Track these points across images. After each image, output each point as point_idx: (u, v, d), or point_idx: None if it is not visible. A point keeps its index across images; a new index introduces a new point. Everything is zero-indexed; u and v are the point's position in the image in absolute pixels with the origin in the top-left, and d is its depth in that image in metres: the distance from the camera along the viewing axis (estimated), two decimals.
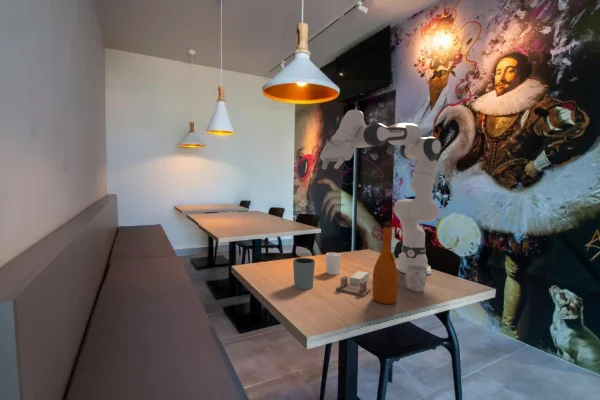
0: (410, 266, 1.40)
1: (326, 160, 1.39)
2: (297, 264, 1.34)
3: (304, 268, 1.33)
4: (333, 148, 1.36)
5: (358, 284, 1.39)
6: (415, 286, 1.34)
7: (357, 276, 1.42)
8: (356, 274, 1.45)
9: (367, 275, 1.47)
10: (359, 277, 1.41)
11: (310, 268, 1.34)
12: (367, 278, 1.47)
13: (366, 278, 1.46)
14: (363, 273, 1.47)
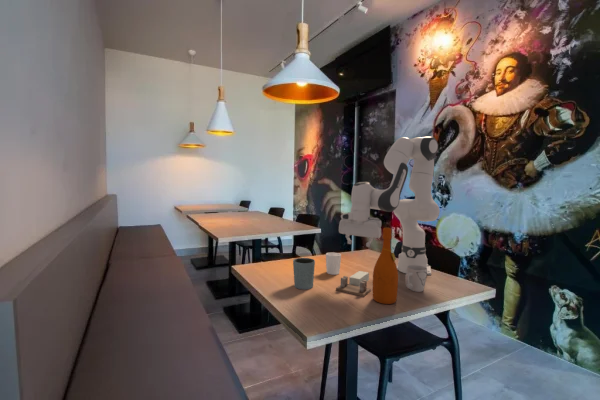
0: (410, 266, 1.40)
1: (348, 235, 1.46)
2: (297, 264, 1.34)
3: (304, 268, 1.33)
4: (354, 225, 1.42)
5: (358, 284, 1.39)
6: (415, 286, 1.34)
7: (357, 276, 1.42)
8: (356, 274, 1.45)
9: (367, 275, 1.47)
10: (359, 277, 1.41)
11: (310, 268, 1.34)
12: (367, 278, 1.47)
13: (366, 278, 1.46)
14: (363, 273, 1.47)
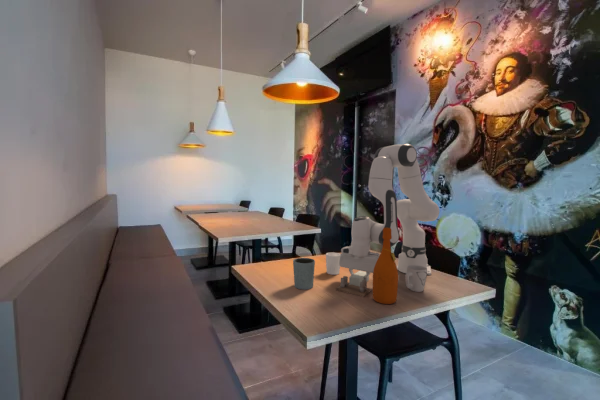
0: (410, 266, 1.40)
1: (352, 269, 1.46)
2: (297, 264, 1.34)
3: (304, 268, 1.33)
4: (355, 259, 1.44)
5: (358, 284, 1.39)
6: (415, 286, 1.34)
7: (357, 275, 1.42)
8: (356, 274, 1.45)
9: None
10: (359, 277, 1.41)
11: (310, 268, 1.34)
12: None
13: None
14: (363, 273, 1.47)
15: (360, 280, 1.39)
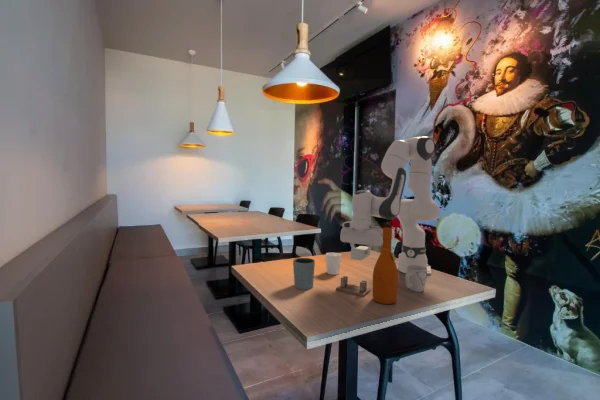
0: (410, 266, 1.40)
1: (353, 243, 1.45)
2: (297, 264, 1.34)
3: (304, 268, 1.33)
4: (356, 233, 1.43)
5: (359, 257, 1.38)
6: (415, 286, 1.34)
7: (358, 249, 1.42)
8: (357, 248, 1.44)
9: None
10: (360, 250, 1.40)
11: (310, 268, 1.34)
12: (369, 252, 1.46)
13: None
14: (364, 247, 1.46)
15: (362, 253, 1.39)
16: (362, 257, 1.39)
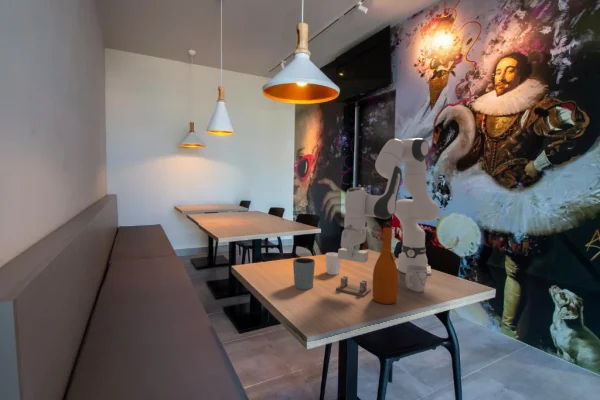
0: (410, 266, 1.40)
1: (356, 244, 1.36)
2: (297, 264, 1.34)
3: (304, 268, 1.33)
4: None
5: None
6: (415, 286, 1.34)
7: None
8: (352, 249, 1.35)
9: (360, 255, 1.29)
10: (343, 249, 1.34)
11: (310, 268, 1.34)
12: (360, 258, 1.29)
13: (357, 257, 1.30)
14: (359, 251, 1.31)
15: (340, 252, 1.34)
16: (341, 256, 1.33)
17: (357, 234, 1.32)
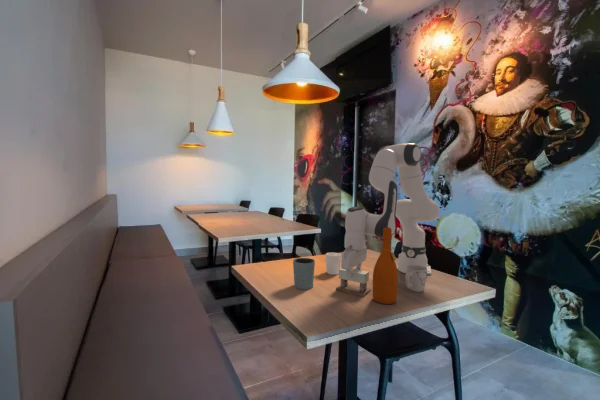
0: (410, 266, 1.40)
1: None
2: (297, 264, 1.34)
3: (304, 268, 1.33)
4: None
5: None
6: (415, 286, 1.34)
7: None
8: (353, 269, 1.35)
9: (360, 275, 1.29)
10: (344, 269, 1.34)
11: (310, 268, 1.34)
12: (361, 279, 1.29)
13: (357, 277, 1.30)
14: (359, 272, 1.31)
15: (341, 272, 1.34)
16: (342, 276, 1.33)
17: (357, 254, 1.32)
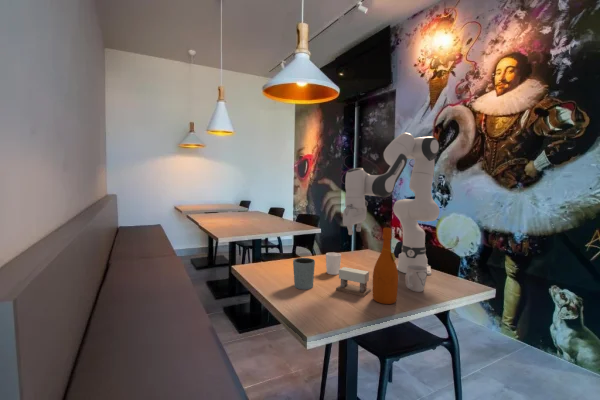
0: (410, 266, 1.40)
1: None
2: (297, 264, 1.33)
3: (304, 268, 1.33)
4: None
5: None
6: (415, 286, 1.34)
7: (348, 269, 1.35)
8: (353, 269, 1.35)
9: (360, 275, 1.29)
10: (344, 269, 1.34)
11: (310, 268, 1.34)
12: (361, 279, 1.29)
13: (357, 277, 1.30)
14: (359, 272, 1.31)
15: (341, 272, 1.34)
16: (342, 276, 1.33)
17: (358, 212, 1.39)
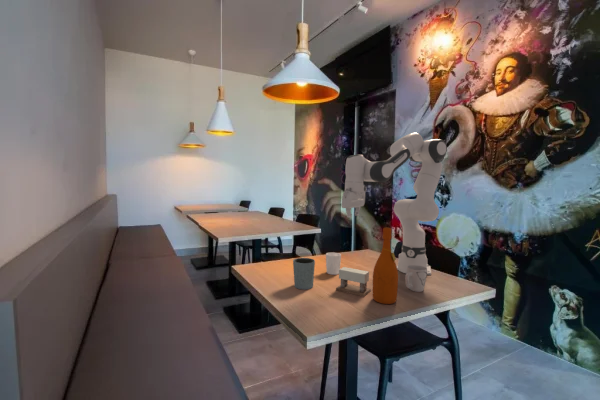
0: (410, 266, 1.40)
1: (356, 207, 1.51)
2: (297, 264, 1.33)
3: (304, 268, 1.33)
4: None
5: None
6: (415, 286, 1.34)
7: (348, 269, 1.35)
8: (353, 269, 1.35)
9: (360, 275, 1.29)
10: (344, 269, 1.34)
11: (310, 268, 1.34)
12: (361, 279, 1.29)
13: (357, 277, 1.30)
14: (359, 272, 1.31)
15: (341, 272, 1.34)
16: (342, 276, 1.33)
17: (356, 197, 1.46)
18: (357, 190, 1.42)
